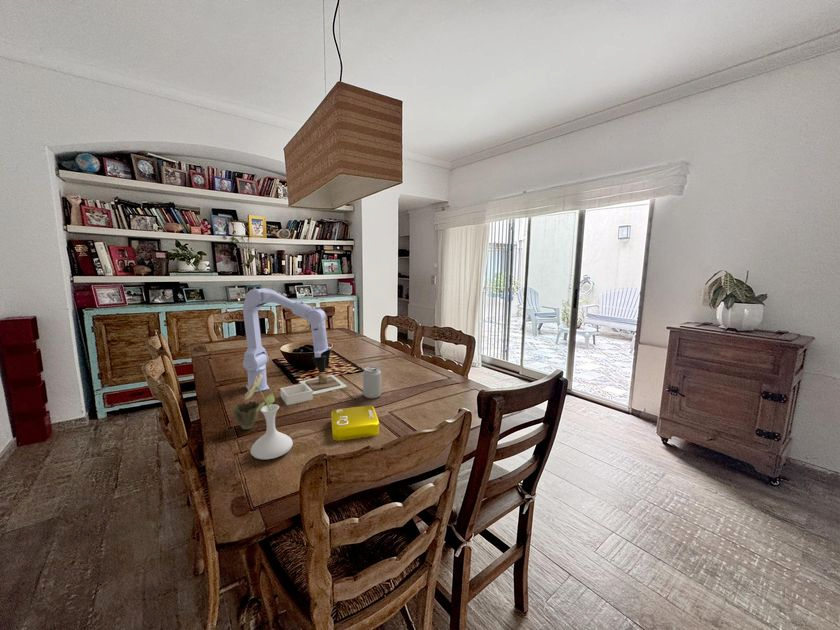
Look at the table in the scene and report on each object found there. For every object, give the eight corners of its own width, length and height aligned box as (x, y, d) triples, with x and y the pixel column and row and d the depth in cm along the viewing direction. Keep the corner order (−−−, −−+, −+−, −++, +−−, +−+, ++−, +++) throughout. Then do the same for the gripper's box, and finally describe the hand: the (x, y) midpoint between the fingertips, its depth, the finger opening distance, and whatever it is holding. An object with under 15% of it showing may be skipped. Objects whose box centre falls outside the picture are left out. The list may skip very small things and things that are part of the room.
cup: (233, 435, 104) (231, 412, 103) (236, 425, 111) (234, 403, 109) (259, 431, 107) (258, 408, 106) (260, 421, 114) (259, 399, 112)
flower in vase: (270, 438, 103) (265, 362, 99) (301, 445, 100) (297, 366, 96) (236, 462, 91) (229, 377, 86) (270, 470, 87) (264, 382, 83)
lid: (305, 382, 149) (305, 373, 148) (330, 377, 156) (330, 369, 155) (313, 391, 139) (313, 382, 139) (340, 385, 146) (340, 376, 146)
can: (377, 400, 132) (377, 372, 131) (360, 398, 134) (359, 370, 132) (383, 393, 140) (383, 366, 138) (366, 391, 141) (366, 364, 139)
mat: (299, 382, 150) (299, 381, 150) (332, 375, 160) (332, 374, 159) (311, 395, 136) (311, 394, 136) (347, 387, 145) (347, 386, 145)
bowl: (280, 397, 134) (280, 388, 133) (305, 392, 139) (305, 383, 139) (287, 406, 126) (286, 396, 125) (312, 400, 131) (312, 390, 131)
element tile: (380, 436, 106) (380, 422, 105) (332, 443, 102) (332, 428, 101) (373, 415, 120) (373, 403, 120) (331, 420, 116) (331, 408, 115)
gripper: (325, 341, 129) (330, 373, 131) (332, 333, 143) (336, 363, 145) (307, 342, 128) (312, 375, 131) (316, 335, 143) (320, 364, 145)
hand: (324, 369), depth 138 cm, fingers open, 7 cm apart
